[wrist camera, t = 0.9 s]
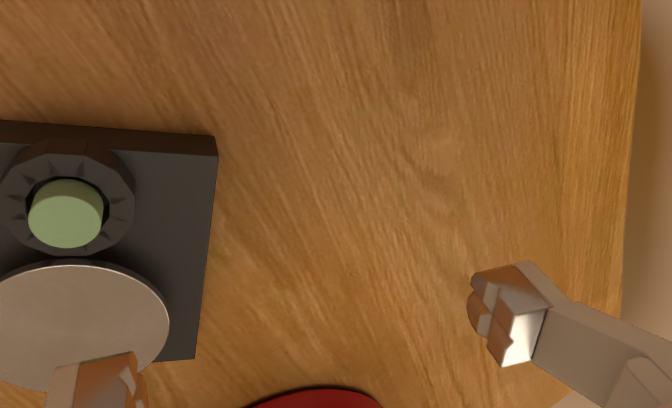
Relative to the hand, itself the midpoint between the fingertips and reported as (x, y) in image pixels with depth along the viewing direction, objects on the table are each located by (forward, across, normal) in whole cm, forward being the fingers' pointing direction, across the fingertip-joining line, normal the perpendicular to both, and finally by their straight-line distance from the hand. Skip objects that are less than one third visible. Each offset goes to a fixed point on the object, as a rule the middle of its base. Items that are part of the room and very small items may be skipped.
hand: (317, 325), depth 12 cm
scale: (+19, +10, +10) cm, 23 cm away
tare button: (+15, +9, +4) cm, 18 cm away
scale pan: (+15, +11, +12) cm, 22 cm away
